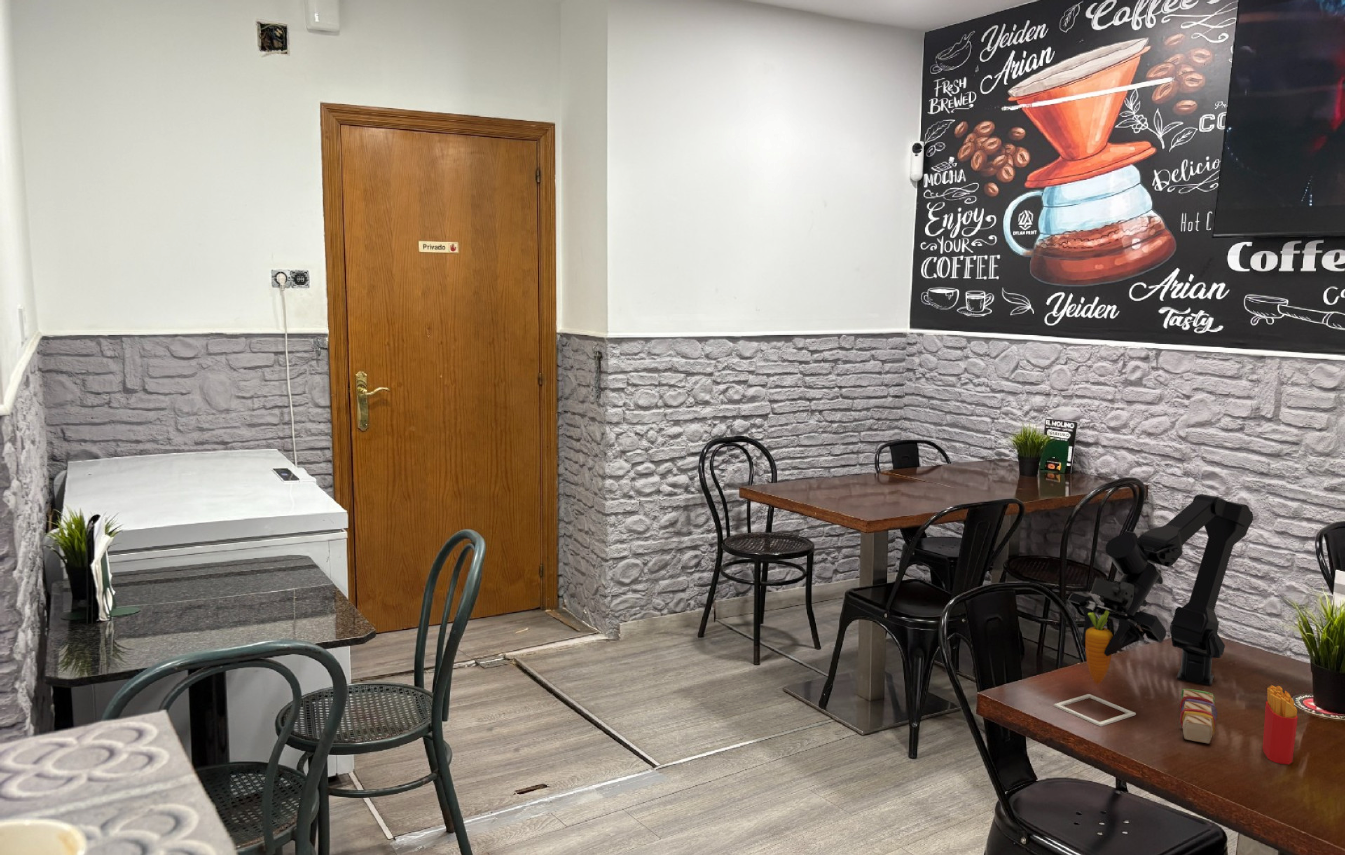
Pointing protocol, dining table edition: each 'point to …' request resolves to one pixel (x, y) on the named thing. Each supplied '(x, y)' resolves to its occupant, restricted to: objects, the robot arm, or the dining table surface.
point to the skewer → (1197, 715)
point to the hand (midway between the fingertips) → (1094, 650)
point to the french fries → (1279, 726)
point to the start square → (1105, 722)
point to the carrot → (1098, 647)
